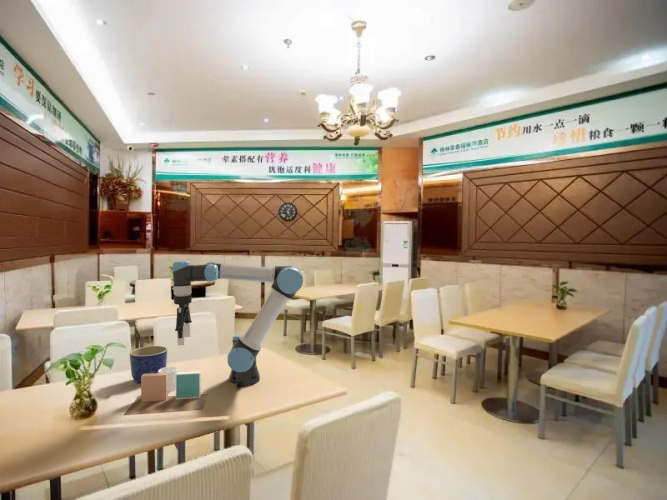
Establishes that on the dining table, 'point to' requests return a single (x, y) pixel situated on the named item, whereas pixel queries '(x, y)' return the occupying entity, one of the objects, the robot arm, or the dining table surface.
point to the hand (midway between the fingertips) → (184, 341)
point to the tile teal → (188, 385)
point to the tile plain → (154, 387)
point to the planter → (147, 361)
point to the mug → (170, 377)
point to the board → (166, 405)
